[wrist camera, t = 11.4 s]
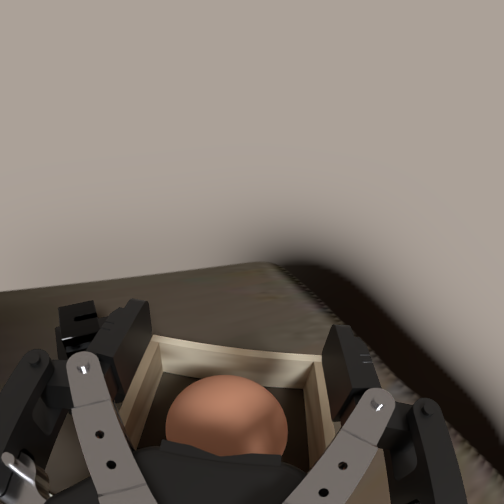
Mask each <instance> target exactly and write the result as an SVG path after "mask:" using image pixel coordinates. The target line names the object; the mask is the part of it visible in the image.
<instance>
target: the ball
mask: <svg viewBox="0 0 504 504" xmlns="http://www.w3.org/2000/svg"><path fill="white" fill-rule="evenodd" d="M287 436H288V427H287V421H286V417H285V414H284V411H283V409H282V407H281V405H280V404H279V402H278V401H277V399H276V398H275V397H274V396H273V395H272V394H271V393H270V392H269V391H268V390H267V389H265V388H264V387H263V386H261V385H260V384H258V383H256V382H254V381H252V380H249V379H247V378H243V377H240V376H234V375H216V376H210V377H206V378H203V379H201V380H198V381H196V382H194V383H192V384H191V385H189V386H188V387H186V388H185V389H184V390H183V391H182V392H181V393H180V394H179V395H178V396H177V397H176V399H175V400H174V402H173V403H172V405H171V407H170V409H169V412H168V415H167V419H166V439H167V441H172V442H177V443H182V444H187V445H191V446H194V447H196V448H199V449H201V450H204V451H206V452H209V453H212V454H214V455H217V456H232V455H241V454H249V453H257V454H277V455H281V456H282V454H283V452H284V449H285V447H286V443H287Z"/></svg>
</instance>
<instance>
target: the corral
mask: <svg viewBox="0 0 504 504" xmlns="http://www.w3.org/2000/svg"><path fill="white" fill-rule="evenodd" d="M163 372H168V373H173V374H178V375H184V376H189V377H195V378H201V379H203V378H206V377H210V376H216V375H234V376H240V377H243V378H247V379H249V380H252V381H254V382H256V383H258V384H260V385H261V386H266V387H279V388H296V389H303V392H304V402H305V413H306V425H307V437H308V450H309V464H310V468H311V467H312V466H313V465H314V463H315V462H316V461H317V460H318V458H319V457H320V456H321V455H322V453H323V452H324V451H325V449H326V448H327V447H328V445H329V444H330V442H331V441H332V440H333V438H334V437H335V431H334V424H333V422H332V419H331V413H330V407H329V401H328V395H327V389H326V383H325V378H324V372H323V367H322V355H305V354H291V353H279V352H268V351H258V350H248V349H240V348H232V347H224V346H217V345H210V344H203V343H197V342H191V341H185V340H179V339H174V338H168V337H163V336H158V335H153V336H152V338H151V341H150V343H149V345H148V347H147V349H146V351H145V353H144V356H143V358H142V360H141V362H140V365H139V367H138V369H137V371H136V373H135V376H134V378H133V380H132V383H131V385H130V387H129V389H128V392H127V394H126V396H125V399H124V401H123V404H122V406H121V408H120V411H119V414H120V417H121V419H122V422H123V424H124V427H125V429H126V431H127V434H128V436H129V438H130V440H131V442H132V444H133V446H134V449H135V451H136V450H137V447H138V444H139V441H140V437H141V434H142V431H143V428H144V425H145V422H146V419H147V416H148V414H149V411H150V408H151V405H152V402H153V399H154V396H155V393H156V390H157V388H158V385H159V382H160V379H161V376H162V374H163Z"/></svg>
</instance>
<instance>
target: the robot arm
mask: <svg viewBox="0 0 504 504" xmlns="http://www.w3.org/2000/svg"><path fill="white" fill-rule="evenodd" d="M151 333H152V326H151V318H150V310H149V303H148V301H143V300H138V299H133V298H132V299H130V300H129V302H128V303H127V305H126V306H125V308H120V307H119V308H118V309H116V310H115V311H113V312H112V313H111V314H110V315H109V316H108V318H107V319H106V321H105V323H104V324H103V325H102V327H101V329H100V330H99V331H98V333H97V334H96V336H95V337H94V339H93V340H92V342H91V343H90V345H89V346H88V348H87V349H86V351H82V352H78V353H75V354H74V355H72V356H71V357H70V358H69V359H68V360H51V359H50V357H49V355H48V353H47V352H46V351H44V350H41V349H34V350H31V351H29V352H27V353H26V354H25V355H24V356H23V358H22V359H21V361H20V362H19V364H18V365H17V367H16V368H15V370H14V371H13V373H12V374H11V376H10V378H9V379H8V381H7V382H6V384H5V386H4V387H3V389H2V391H1V392H0V502H1V503H2V504H345V503H346V501H347V500H348V498H349V497H350V495H351V494H352V492H353V491H354V489H355V488H356V486H357V484H358V483H359V481H360V480H361V478H362V476H363V475H364V473H365V471H366V470H367V468H368V466H369V464H370V463H371V461H372V459H373V457H374V456H375V454H376V452H377V449H378V448H381V449H383V451H384V457H385V463H386V470H387V477H388V484H389V492H390V500H391V504H467V499H466V494H465V489H464V485H463V481H462V477H461V473H460V469H459V465H458V462H457V458H456V455H455V451H454V448H453V445H452V441H451V438H450V435H449V432H448V429H447V426H446V423H445V420H444V417H443V414H442V412H441V409H440V407H439V406H438V404H437V403H436V402H435V401H433V400H431V399H429V398H420V399H418V400H417V401H416V402H415V403H414V404H413V405H409V404H404V403H399V402H396V401H395V400H394V398H393V396H392V395H391V394H390V393H389V392H388V391H386V390H384V389H382V388H381V385H380V382H379V379H378V376H377V374H376V371H375V368H374V365H373V363H372V359H371V357H370V356H369V351H368V348H367V346H366V344H365V343H364V342H363V341H362V340H361V339H360V338H359V337H354V335H353V332H352V330H351V327H350V326H348V325H332V327H331V329H330V332H329V334H328V337H327V340H326V343H325V345H324V348H323V351H322V367H323V372H324V378H325V383H326V389H327V395H328V401H329V407H330V413H331V419H332V422H338V421H341V426H342V427H341V428H340V430H339V431H338V433H337V434H336V435H335V437H334V438H333V440H332V441H331V442H330V444H329V445H328V447H327V448H326V449H325V451H324V452H323V453H322V455H321V456H320V457H319V458H318V460H317V461H316V462H315V463H314V465H313V466H312V467H311V468H310V469H309V471H308V472H307V473H305V472H304V471H302V470H301V469H299V468H297V467H295V466H293V465H291V464H288V463H285V462H281V455H277V454H257V453H249V454H241V455H232V456H217V455H214V454H212V453H209V452H206V451H204V450H201V449H199V448H196V447H194V446H191V445H187V444H182V443H177V442H172V441H167V440H163V439H162V442H161V445H160V446H151V447H145V448H141V449H138V450H136V451H135V449H134V446H133V444H132V442H131V440H130V438H129V436H128V434H127V431H126V429H125V427H124V424H123V422H122V419H121V417H120V414H119V411H118V409H117V406H116V403H115V401H114V398H115V396H116V394H117V393H119V394H123V395H126V393H127V390H128V388H129V386H130V384H131V381H132V379H133V377H134V374H135V372H136V370H137V368H138V365H139V363H140V361H141V359H142V357H143V354H144V352H145V350H146V348H147V346H148V344H149V341H150V338H151ZM69 409H71V410H72V416H73V420H74V424H75V428H76V431H77V435H78V438H79V442H80V445H81V448H82V452H83V455H84V458H85V461H86V464H87V466H88V469H89V472H90V475H91V476H90V477H88V478H86V479H84V480H83V481H81V482H79V483H77V484H75V485H73V486H71V487H69V488H67V489H65V490H63V491H61V492H59V493H57V494H55V495H53V496H51V497H50V495H49V490H50V486H49V478H48V475H47V473H46V472H45V468H46V465H47V462H48V459H49V457H50V454H51V451H52V449H53V446H54V443H55V441H56V438H57V436H58V433H59V431H60V429H61V426H62V424H63V421H64V419H65V417H66V414H67V412H68V410H69Z"/></svg>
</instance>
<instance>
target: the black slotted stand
mask: <svg viewBox="0 0 504 504" xmlns="http://www.w3.org/2000/svg"><path fill="white" fill-rule="evenodd" d="M58 310H59V322H60V327H56V328H55V332H56V342H57V351H58V358H59V360H68V359H69V358H70V357H71V356H72V355H74V354H75V353H78V352H82V351H86V349H87V348H88V346H89V345H90V343H91V342H92V340H93V339H94V337H95V336H96V334H97V333H98V331H99V330H100V329H101V327H102V325H103V324H104V323H105V321H106V319H107V318H108V316H107V317H103V318H98V317H97V313H96V309H95V305H94V301H93V300H92V301H87V302H83V303H78V304H73V305H68V306H63V307H59V308H58ZM133 378H134V377H133ZM132 380H133V379H132ZM131 383H132V381H131ZM130 385H131V384H130ZM129 387H130V386H129ZM128 389H129V388H128ZM127 392H128V390H127ZM126 394H127V393H126ZM125 396H126V395H123V394H119V393H117V394H116V396H115V398H114V401H115V403H119V402H122V401H124V399H125ZM68 412H69V414H71V415H72V410H71V409H69V410H68Z"/></svg>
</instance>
